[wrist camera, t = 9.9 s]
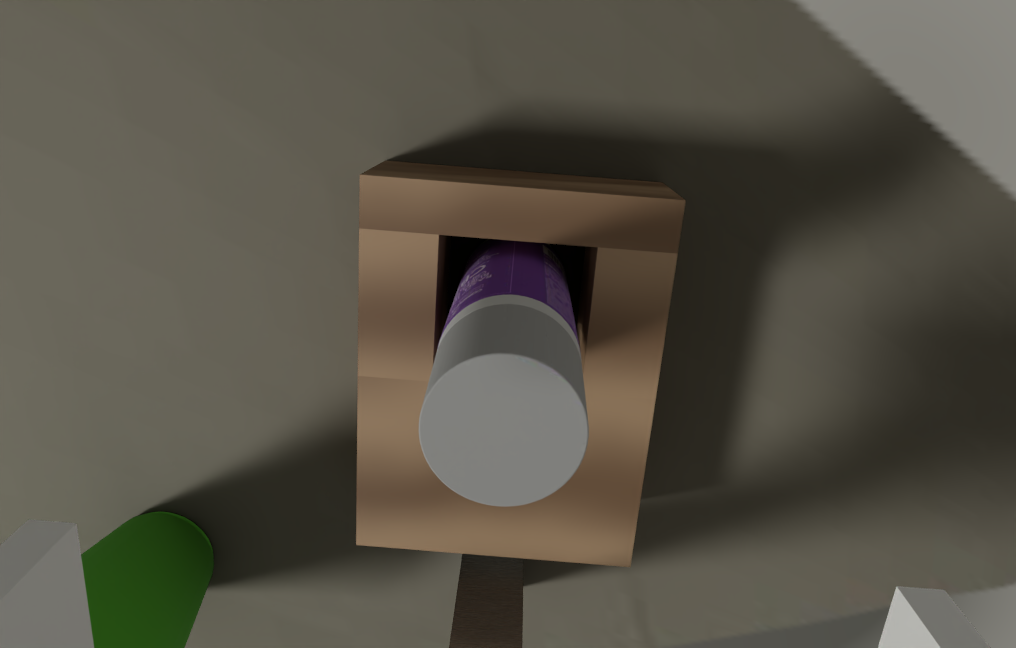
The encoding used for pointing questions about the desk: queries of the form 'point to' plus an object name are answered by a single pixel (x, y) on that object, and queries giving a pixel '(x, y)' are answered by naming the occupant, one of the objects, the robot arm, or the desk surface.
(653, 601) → the desk surface
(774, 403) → the desk surface
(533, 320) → the container
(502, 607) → the grey flat-topped post
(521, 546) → the socket block
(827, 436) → the desk surface
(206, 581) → the cup
